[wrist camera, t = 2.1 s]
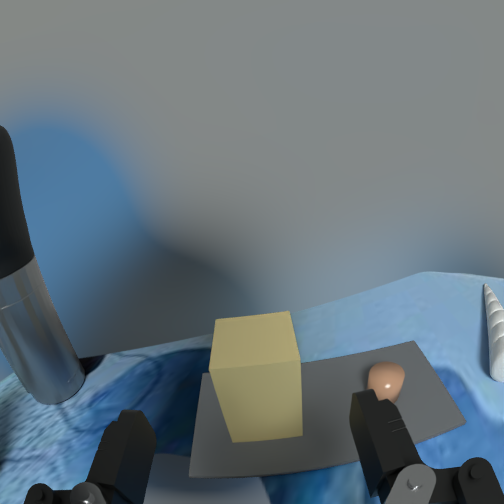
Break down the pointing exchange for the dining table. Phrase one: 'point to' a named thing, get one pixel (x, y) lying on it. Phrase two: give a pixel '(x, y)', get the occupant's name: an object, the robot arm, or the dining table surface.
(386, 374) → the tan rounded blob
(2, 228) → the robot arm
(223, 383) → the tall cream block
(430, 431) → the mat
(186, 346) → the dining table surface
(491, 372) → the unicorn horn
